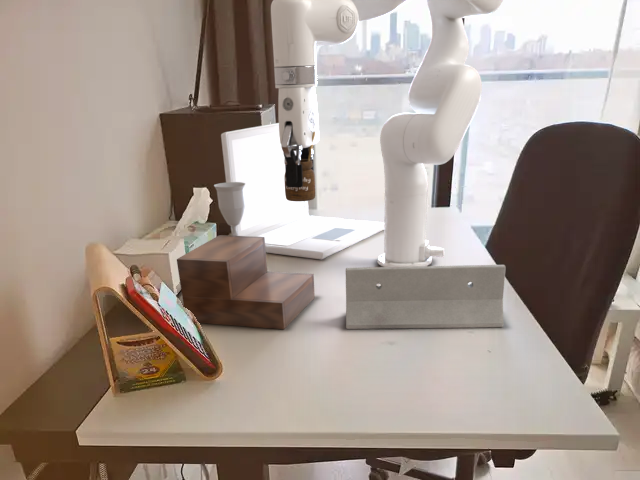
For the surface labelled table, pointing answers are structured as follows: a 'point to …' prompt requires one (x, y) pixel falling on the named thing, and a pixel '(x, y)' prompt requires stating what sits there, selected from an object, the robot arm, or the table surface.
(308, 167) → the utensil holder
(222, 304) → the step shelf
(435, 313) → the barrier
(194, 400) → the table surface
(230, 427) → the table surface
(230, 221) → the chalice
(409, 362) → the table surface
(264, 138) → the laptop
